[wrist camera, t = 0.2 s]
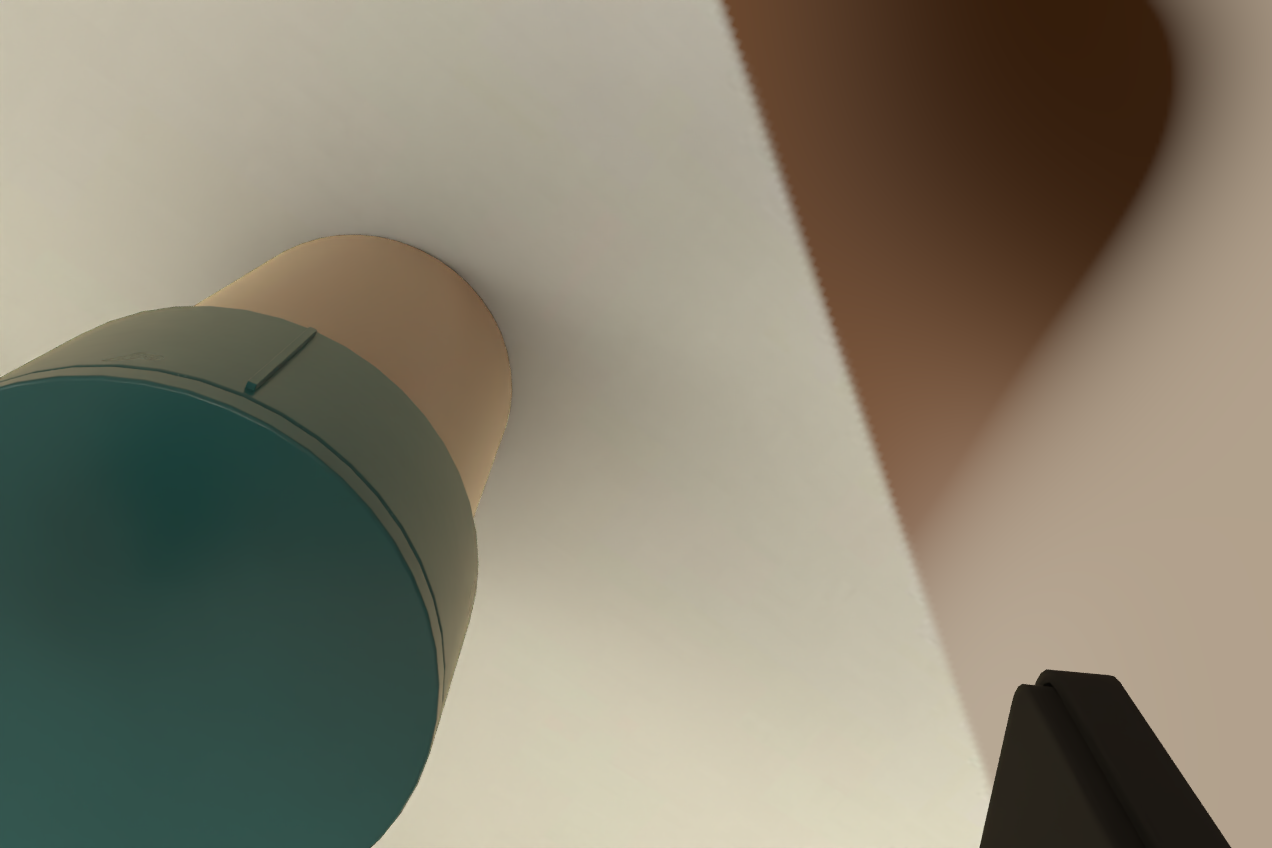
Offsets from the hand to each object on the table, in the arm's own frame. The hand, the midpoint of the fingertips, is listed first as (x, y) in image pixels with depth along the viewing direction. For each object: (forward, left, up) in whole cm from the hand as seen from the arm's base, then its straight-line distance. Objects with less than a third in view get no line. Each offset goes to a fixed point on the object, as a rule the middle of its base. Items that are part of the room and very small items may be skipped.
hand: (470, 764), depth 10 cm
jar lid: (+2, -4, -6) cm, 7 cm away
